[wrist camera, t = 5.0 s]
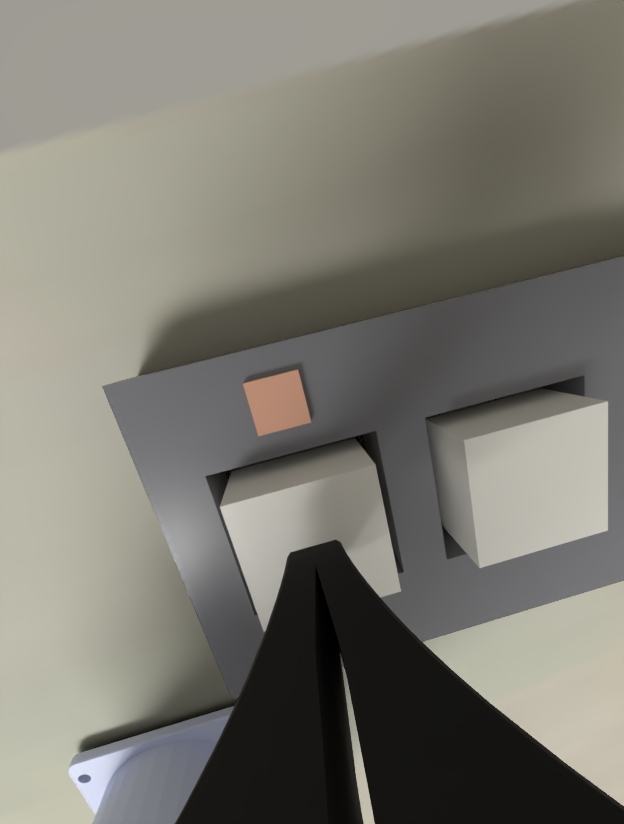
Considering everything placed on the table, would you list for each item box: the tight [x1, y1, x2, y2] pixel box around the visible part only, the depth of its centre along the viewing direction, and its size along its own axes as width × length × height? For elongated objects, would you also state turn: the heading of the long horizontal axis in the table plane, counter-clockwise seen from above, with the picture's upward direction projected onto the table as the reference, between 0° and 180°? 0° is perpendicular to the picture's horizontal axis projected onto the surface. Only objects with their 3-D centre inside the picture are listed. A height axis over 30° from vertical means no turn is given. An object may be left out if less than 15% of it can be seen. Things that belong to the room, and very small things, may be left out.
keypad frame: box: [102, 256, 624, 699], centre depth 12 cm, size 12×23×2 cm, turn 103°
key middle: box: [425, 388, 608, 568], centre depth 11 cm, size 4×4×2 cm
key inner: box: [220, 438, 401, 632], centre depth 10 cm, size 4×4×2 cm
